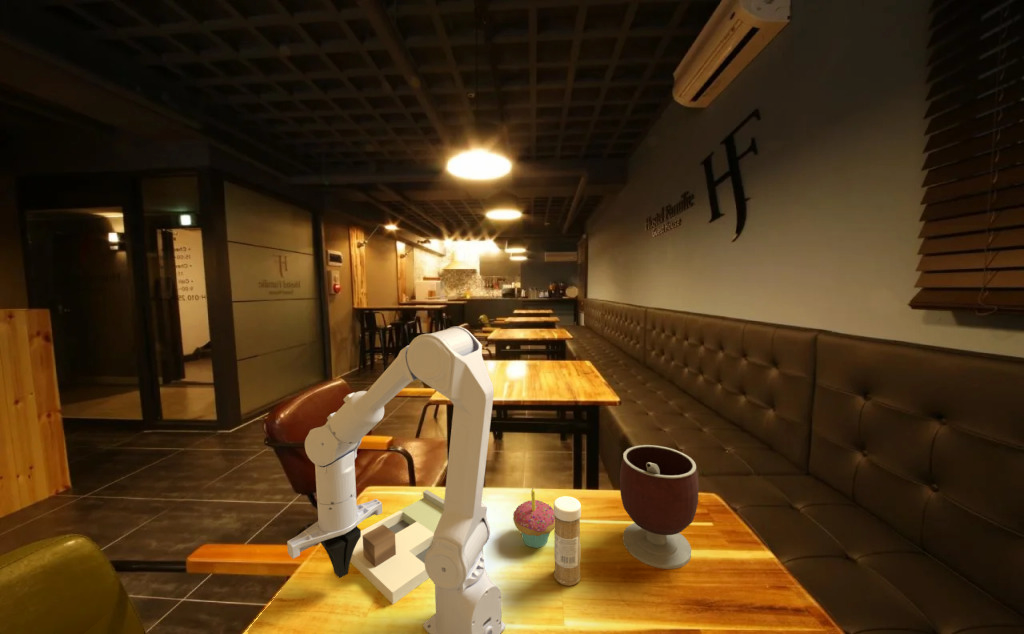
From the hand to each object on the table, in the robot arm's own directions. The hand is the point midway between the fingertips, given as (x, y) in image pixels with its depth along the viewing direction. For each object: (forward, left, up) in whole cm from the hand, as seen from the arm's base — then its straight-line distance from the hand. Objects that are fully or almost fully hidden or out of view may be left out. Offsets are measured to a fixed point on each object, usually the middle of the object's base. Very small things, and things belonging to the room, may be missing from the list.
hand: (341, 573), depth 62 cm
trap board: (0, -14, -3) cm, 14 cm away
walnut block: (0, -7, -1) cm, 7 cm away
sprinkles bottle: (-27, -26, -3) cm, 38 cm away
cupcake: (-17, -30, -3) cm, 35 cm away
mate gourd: (-36, -43, -3) cm, 56 cm away
